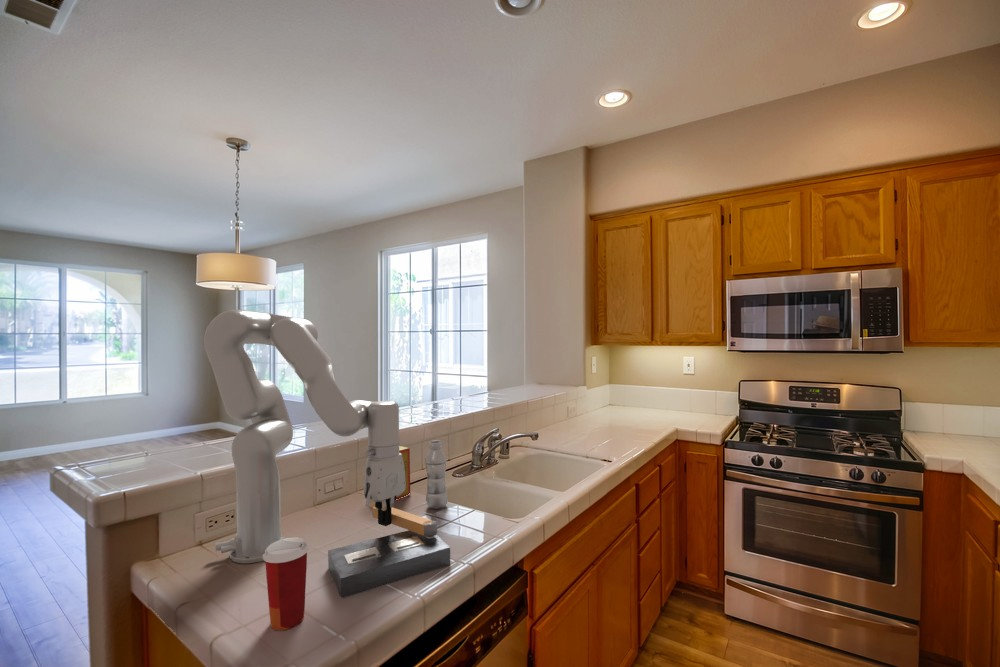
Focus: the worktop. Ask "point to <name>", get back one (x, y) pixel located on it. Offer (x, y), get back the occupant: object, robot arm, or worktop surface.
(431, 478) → the plastic bottle
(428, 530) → the light orange bar
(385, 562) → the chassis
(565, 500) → the worktop surface
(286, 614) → the paper cup
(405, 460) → the red and yellow box
